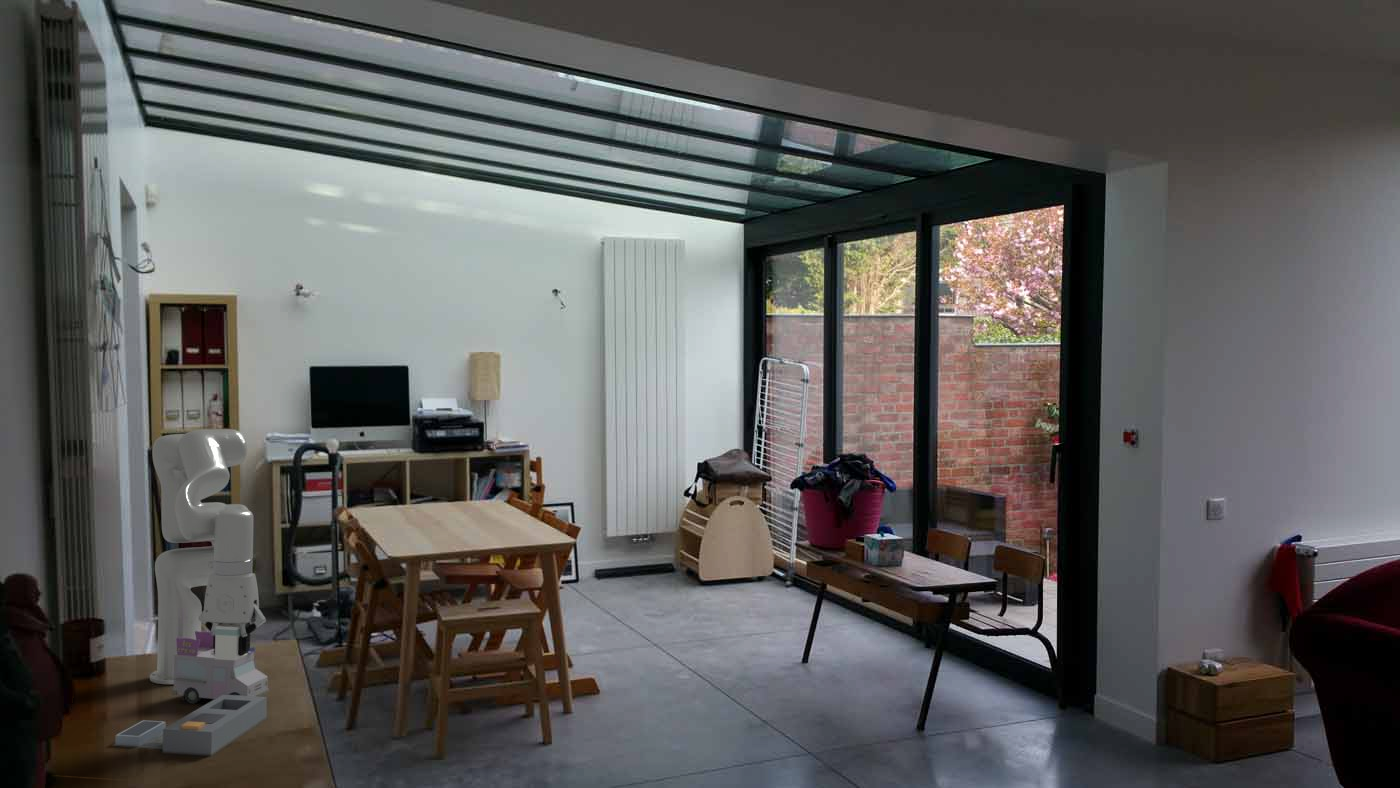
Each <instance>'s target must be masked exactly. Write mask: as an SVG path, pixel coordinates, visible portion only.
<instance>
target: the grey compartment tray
mask: <svg viewBox="0 0 1400 788" xmlns="http://www.w3.org/2000/svg"><path fill="white" fill-rule="evenodd" d="M267 702H268V697H267V696H260V697H257V696H239V695H221V696H219V697H218V698H216V699H212V700H211V701H209V702H207V703H206V704H204V705H201V706H200V707H198V708H197V709H196V710H194V711H192V712H190V713H188V714H186V715H185V716H184V717H181V718H180V719H178V720H176V721H174V722H173V723H171V724H169V725H168V726H166V728H164V729H163V749H162V753H163V754H175V755H192V756H207V757H211V756H213V755H215V754H216V753H218V752H219V751H221V750H222V749H224V748H225V747H227V746H228V745H230V744H231V743H232V742H234V741H235V740H237V739H238V738H239V737H241V736H243V735H244V734H246V733H247V732H249V731H251V730H252V729H253V728H255V727H256V726H258V725H259V724H261V723H262V722H264V721H265V720H267V713H268V712H267V711H268V710H267V707H268V706H267V704H268V703H267Z"/></svg>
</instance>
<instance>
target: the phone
mask: <svg viewBox="0 0 1400 788" xmlns="http://www.w3.org/2000/svg"><path fill="white" fill-rule="evenodd" d="M166 727H167V722H166V721H163V720H162V721H161V720H160V721H158V720H145V719H143V720H141V721H139V722H137V723H136V724H133V725H132V726H130V727H129V728H127V729H124V730H123V731H120V732H119V733H117V734H115V742H114V744H115V745H128V746H140V745H142V744H144V743H145V742H147V741H149V740H151V739H152V738H154V737H156V736H157V735H159V734H161V733H163V729H164V728H166Z"/></svg>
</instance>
